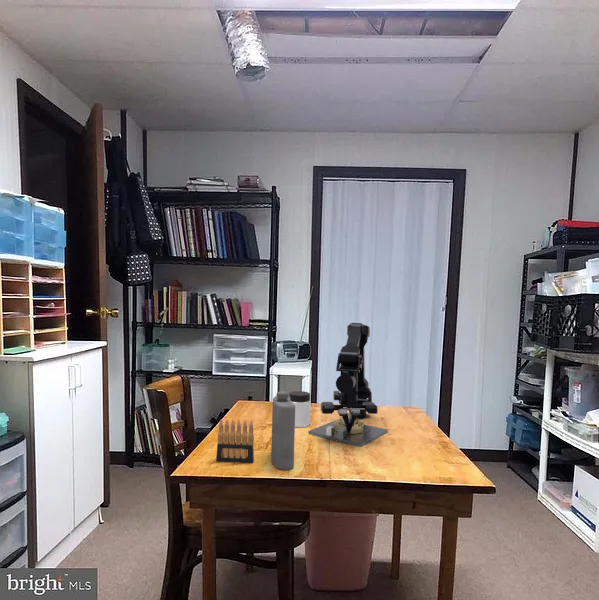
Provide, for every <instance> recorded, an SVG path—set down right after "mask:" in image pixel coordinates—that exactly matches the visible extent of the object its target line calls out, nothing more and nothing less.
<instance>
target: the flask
mask: <svg viewBox="0 0 599 600" xmlns="http://www.w3.org/2000/svg"><path fill="white" fill-rule="evenodd" d="M271 414H272V415H271V417H272V419H271V444H270V445H271V450H270V459H271V462H272V464H273V465H274V467H275V468H277V469H279V470H281V469H282V470H283V471H288V469H290V470H292V469H293V468H294V463H295V435H296V434H295V432H296V431H295V430H296V427H295V405H294V404H293V403H291V402H290V397H289V393H288V392H287V391H282V390H281V391H278V392H276V396H273V398H272V413H271Z"/></svg>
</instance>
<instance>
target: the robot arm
mask: <svg viewBox="0 0 599 600" xmlns="http://www.w3.org/2000/svg"><path fill="white" fill-rule="evenodd" d="M346 327H347V331H346V335H347V340H346V344H345V345H344V346H342V347H341V349H340V352H339V353H337V354H338V355H337V360H336V361H337V362H336V368H335V371H336V372H340V375H339V376H338V377H337V378H336V381H335V387H336V389H337V390H333V401H338V404H334V402H333V401H321V403H320V411H321V413H322V415H325V414H326V415H328V414H329V415H332V414H333V413H335V411H337V412H336V413H337V414H338V416H339V417H343V420H344V423H345V426H346V430H347V433H350V431H351V429H352V426H353V424H354V422H355V420H356V419H361V420H362V419H366V418H369V417H370V416H371V414H372V415H375V414H378V411H379V409H378V405H376V404H375V402H373V399H372V398H373V395H372V390H371V388H370V387H369V384H370V383H369V382H368V380H367V379H366V375H365V373H366V372H365V371H366V369H365V364H366V362H365V360H366V359H365V347H366V345H367V343H368V340H369V337H370V335H371V328H370V326H368V325H367V324H366V325H365V324H364V323H362V322H351V323H349V324H347V326H346Z"/></svg>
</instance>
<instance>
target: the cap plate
mask: <svg viewBox="0 0 599 600" xmlns="http://www.w3.org/2000/svg"><path fill="white" fill-rule="evenodd" d="M336 420H340V418H339V419H334V420H333V421H330V422H328V423H325V424H323V425H320V426H318V427H315V428H313V429H311V430H307V433H309V434H308V435H310V434H313V435H312V436H314V435H316V436H315V437H319V436H320V438H323V437H324V438H323V439H327V438H328V439H329V440H331V439H332V441H335V440H337V441H336V442H339V441H340V443H345V444H347V445H348V444H349V445H353V446H356V447H360V448H361V447H363V446H365V445H367V444H369V443H370V442H372V441H374V440H376V439H378V438H380V437H382V436H384V435H385V434H387V433H388V432H389V429H387V428H383V427H377V426H372V425H368V424H364V429H363V431H362V433H358V434H347V436H346V437H345V438H344V439H343V440H342V439H337V431H335V430H334V422H335V421H336ZM354 423H356V420H355V422H354ZM342 424H343V425H345V423H344V420H343V419H342Z"/></svg>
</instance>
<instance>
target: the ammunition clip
mask: <svg viewBox="0 0 599 600" xmlns="http://www.w3.org/2000/svg"><path fill="white" fill-rule="evenodd" d="M224 424H225V425H224ZM254 439H255V438H254V423H253V420H250V422H249V425H248V426H247V420H244V421H243V425H242V423H241V420H239V419H238V420H237V424H236V425H235V420H234V419H232V420H231V424H230V425H229V420H228V419H226V420H225V423H224V422H223V420H222V419H220V420H219V425H218V432H217V445H216V456H215V462H217V463H236V462H237V463H238V462H239V463H240V464H253V463H254V461H255V457H254V456H255V455H254V454H255V451H254V441H255V440H254ZM237 463H236V464H237Z"/></svg>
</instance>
